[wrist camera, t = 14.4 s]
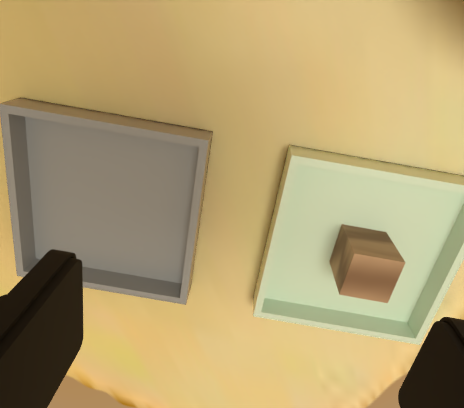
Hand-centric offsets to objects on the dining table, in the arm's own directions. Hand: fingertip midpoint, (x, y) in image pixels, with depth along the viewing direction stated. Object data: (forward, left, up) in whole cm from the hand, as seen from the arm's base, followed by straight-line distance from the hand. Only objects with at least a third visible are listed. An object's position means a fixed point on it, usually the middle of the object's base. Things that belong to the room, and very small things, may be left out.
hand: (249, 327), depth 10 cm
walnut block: (+13, +14, -30) cm, 35 cm away
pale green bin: (+13, +14, -30) cm, 36 cm away
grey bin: (+13, -14, -30) cm, 36 cm away
